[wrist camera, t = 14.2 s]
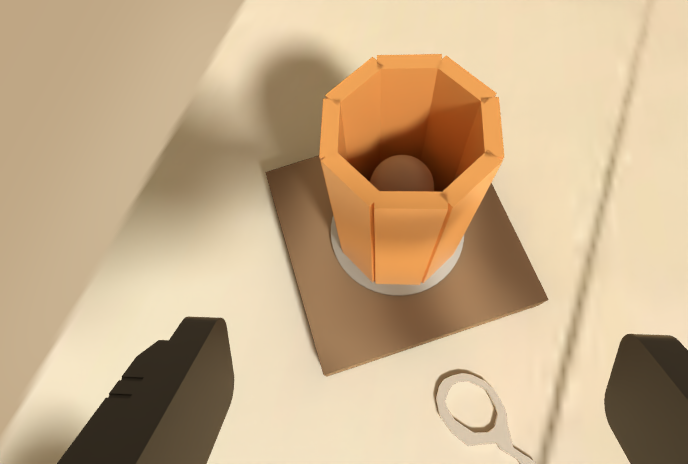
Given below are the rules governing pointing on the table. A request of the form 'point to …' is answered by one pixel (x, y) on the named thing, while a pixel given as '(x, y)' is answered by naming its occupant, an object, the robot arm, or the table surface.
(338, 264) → the spindle
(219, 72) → the table surface
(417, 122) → the collar
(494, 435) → the scissors
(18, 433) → the table surface
